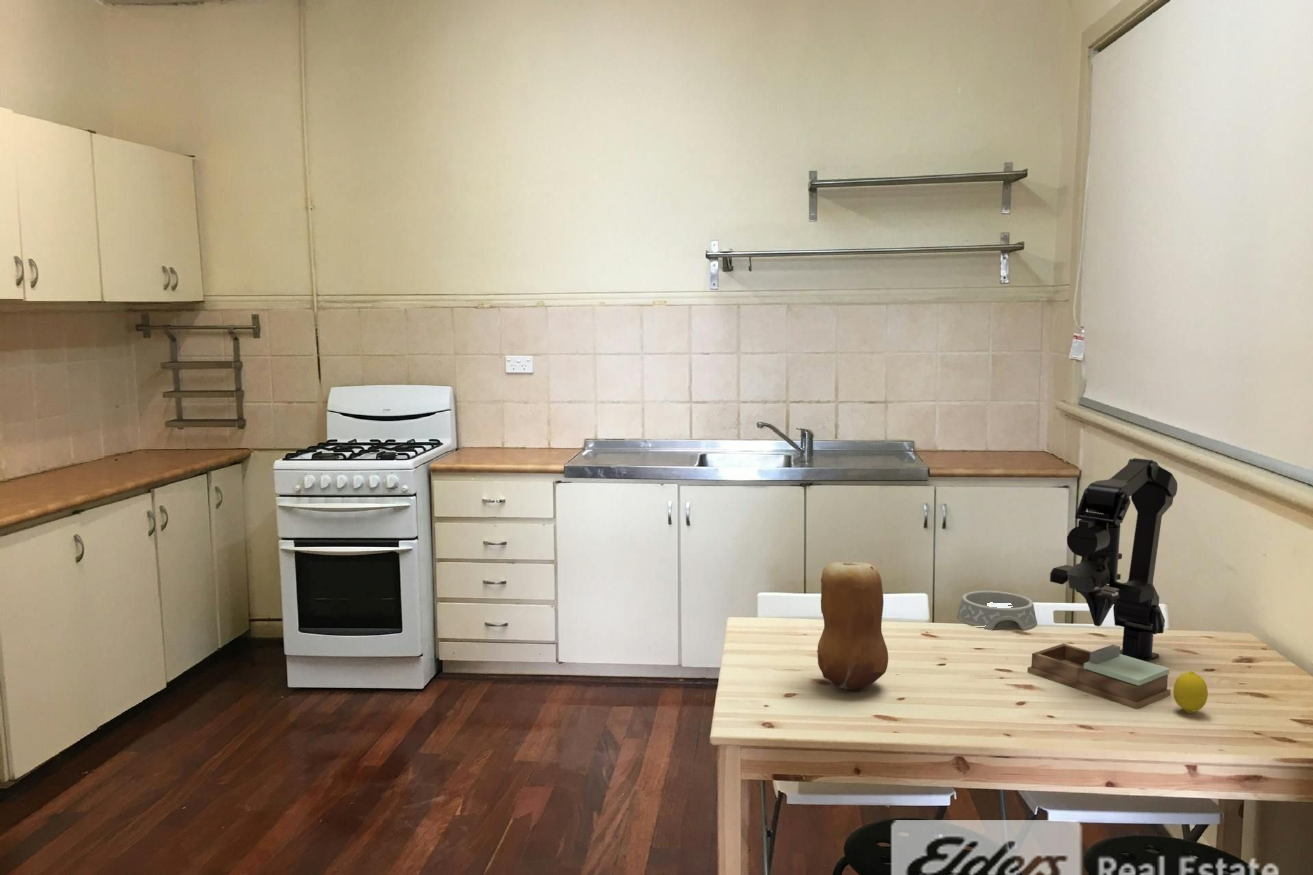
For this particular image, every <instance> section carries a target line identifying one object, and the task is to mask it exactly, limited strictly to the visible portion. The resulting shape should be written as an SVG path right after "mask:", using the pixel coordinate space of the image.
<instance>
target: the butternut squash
mask: <svg viewBox="0 0 1313 875" xmlns="http://www.w3.org/2000/svg"><path fill="white" fill-rule="evenodd" d="M820 584H821V586H820V589H821V590H820V609H821V614H822V618H823V624H824V625H823V630H822V632H821V635H820V637H819V640H818V644H817V650H816V651H817V665H818V668H819V670H820V671H821V674H822V677H823V678H824V679H826V680H829V681H830V682H831V683H832V684H833V686H835V687H837V688H841V689H844V690H849V691H856V692H861V691H863V690H865V689H867V688H868V687H870V686H872V684H874V683H875V682H877V681H878V679H880V678H881V677H882V676H884V675H885V673H886V671H887V670H888V664H889V653H888V647H887V644H886V642H885V638H884V635H883V632H882V622H883V621H882V620H883V614H884V613H883V612H884V611H883V610H884V590H883V582H882V578H881V575H880V573H879V570H878V569H877V568H876V567H875V566H874V565H873V564H871V563H869V562H861V561H860V562H859V561H857V562H854V561H853V562H842V561H836V562H831V563H829V564H826V565H825V566H824V567H823V569H822V573H821V577H820Z"/></svg>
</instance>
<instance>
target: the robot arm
mask: <svg viewBox="0 0 1313 875" xmlns="http://www.w3.org/2000/svg"><path fill="white" fill-rule="evenodd" d="M1177 493H1178V482H1177V479H1176V478H1175V476H1174V474H1173V473H1172V472H1170V471H1169V470H1167V469H1165V468H1163V467H1162V466H1160V465H1159V464H1158V462H1157V461H1156V460H1155V461H1154V460H1153V459H1148V458H1137V457H1135V458H1130V459H1129V460H1128V462H1127V464H1126V465H1125V466H1124V467H1123V468H1121V469H1120V470H1119V471H1118V472H1116V473H1115V474H1114V475H1113V476H1111V477H1110V478H1109V479H1102V480H1101V479H1099V480H1095V481H1093V482H1091V483H1090V484H1088V486H1087V487H1086V488H1085V489H1084V491H1083V493H1082V496H1081V499H1080V502H1079V504H1078V507H1077V510H1076V513H1075V516H1074V517H1075V519H1077V520H1078V526H1075V527H1073V528H1072V529H1070V531H1069V532H1068V534H1067V536H1066V544H1067V546H1068V549H1069V550H1070V551H1071V552H1072V553H1073V554H1074V555H1076V556H1079V557H1081V559H1080V562H1079V563H1076V564H1075V565H1074V566H1073V565H1068V564H1064V565H1060V566H1056V567H1054V568H1052V569H1051V571H1050V573H1049V582H1051V583H1054V584H1059V585H1065V584H1066V583H1067V582H1068V587H1069V589H1072V590H1075V592H1076V593H1078V594H1080V595H1081V596H1082V597H1083V598H1084V599H1085V601H1086V604H1087V605H1088V610H1089V612H1090V617H1091V619H1092V621H1093V622H1092V623H1093V625H1094V626H1096V627H1101V626H1102V625H1103V623H1104V621H1105V619H1106V617H1107V615H1108V614H1109V613H1110V611H1111V608H1112V607H1113V610H1112V611H1113V620H1114V626H1116V627H1123V634H1122V635H1123V636H1122V646H1121V647H1122V648H1120V654H1122V655H1125V656H1129V657H1132V658H1136V659H1139V660H1142V661H1146V662H1150V661H1151V660H1154V659H1157V658H1159V657H1160V654H1159V653H1157V652H1153V644H1154V635H1157V634H1164V629H1165V626H1166V625H1165V623H1166V619H1165V617H1164V614H1163V612H1162V609H1161V607H1160V596H1159V594H1158V592H1157V590H1156V588H1155V585H1154V579H1155V578H1154V577H1155V570H1156V562H1157V554H1158V547H1159V540H1160V534H1161V526H1162V519H1163V516H1164V514H1165V513H1166V512H1167V511H1168V510H1169V509H1170V508H1171V506H1172V505H1173V503H1174V497H1176V495H1177ZM1131 502H1132V504H1133V506H1134V508H1135V510H1136V513H1137V514H1136V520H1135V529H1134V536H1133V537H1134V538H1133V543H1132V552H1131V557H1130V566H1129V572H1128V580H1127V581H1126V582H1119V581H1118V580H1121V577H1122V576H1121V573H1118V569H1119V568H1118V566H1119V560H1122V558H1123V553H1121V552H1120V550H1119V549H1120V536H1121V524H1122V523H1123V521H1124V519H1125V517H1126V514H1127V512H1128V510H1129V508H1130V505H1131Z"/></svg>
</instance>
